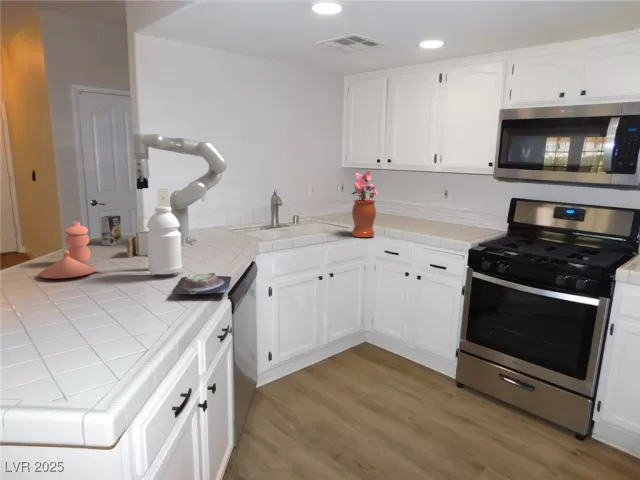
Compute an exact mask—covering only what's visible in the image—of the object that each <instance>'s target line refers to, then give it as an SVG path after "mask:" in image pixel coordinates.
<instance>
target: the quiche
mask: <svg viewBox="0 0 640 480" xmlns="http://www.w3.org/2000/svg"><path fill="white" fill-rule="evenodd" d="M231 280H232V276H229V275H217V274H216V273H214V272H210V273H196V274H195V273H194V274H191V275H188V276H182V277H180V279H179V281H178V282H177V284H176V286H174V288H173V289H172V291H171V294H179V295H181V294H184V295H198V294H199V295H202V294H215V293H216V294H218V293H228V291H229V287H230V284H231Z"/></svg>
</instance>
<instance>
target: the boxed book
mask: <svg viewBox="0 0 640 480" xmlns="http://www.w3.org/2000/svg"><path fill="white" fill-rule="evenodd" d="M149 231H150V230H138V231H136V232H135V234H136V239H137V254H136V255H137V256H138V257H148V249H147V234H148V233H149Z"/></svg>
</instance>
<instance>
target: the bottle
mask: <svg viewBox="0 0 640 480" xmlns="http://www.w3.org/2000/svg"><path fill="white" fill-rule="evenodd" d="M171 211H172V210H171V207H170V206H165V205H164V206H163V205H162V206H155V207H154V212H155V213H154V214H152V216H150V218H149V220H148V222H147V225H146V227H147V228H148V229H149V230H148V231H149V233H148V234H147V249H148V256H147V264H148V266H147V270H148V272H149V273H150V274H153V275H155V274H157V275H168V274H175V273H178V272H180V271H182V270H183V262H182V246H181V233H180V232H179V231H178V227H179V226H180V224H179V222H178V220H177V218H176V217H175V216H174V215H173V214H172V213H171Z"/></svg>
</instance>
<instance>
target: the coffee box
mask: <svg viewBox="0 0 640 480" xmlns="http://www.w3.org/2000/svg"><path fill="white" fill-rule="evenodd" d="M121 222H122V221H121V216H120V215H106V216H101V217H100V223H101V224H100V228H101V229H100V230H101V232H100V233H101V245H102V246H116V245H119V244H122V242H123V241H122V225H121V224H122V223H121Z"/></svg>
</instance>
